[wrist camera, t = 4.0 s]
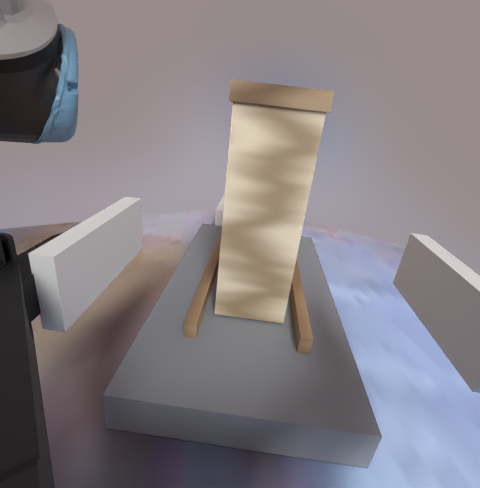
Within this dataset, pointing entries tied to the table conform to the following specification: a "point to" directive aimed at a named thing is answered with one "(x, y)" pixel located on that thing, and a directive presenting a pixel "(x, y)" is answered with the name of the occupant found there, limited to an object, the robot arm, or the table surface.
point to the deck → (245, 374)
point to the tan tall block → (266, 194)
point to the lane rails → (296, 296)
